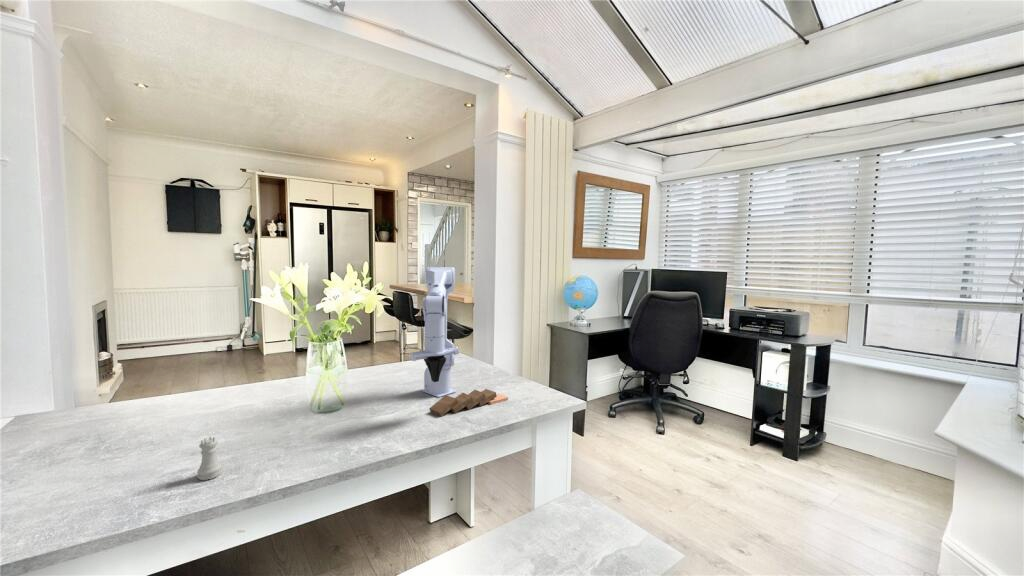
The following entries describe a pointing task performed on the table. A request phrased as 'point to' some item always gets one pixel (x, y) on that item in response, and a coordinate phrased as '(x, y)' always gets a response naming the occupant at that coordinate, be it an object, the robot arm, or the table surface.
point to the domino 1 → (443, 405)
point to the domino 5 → (498, 399)
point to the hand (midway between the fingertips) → (435, 381)
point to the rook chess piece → (209, 460)
